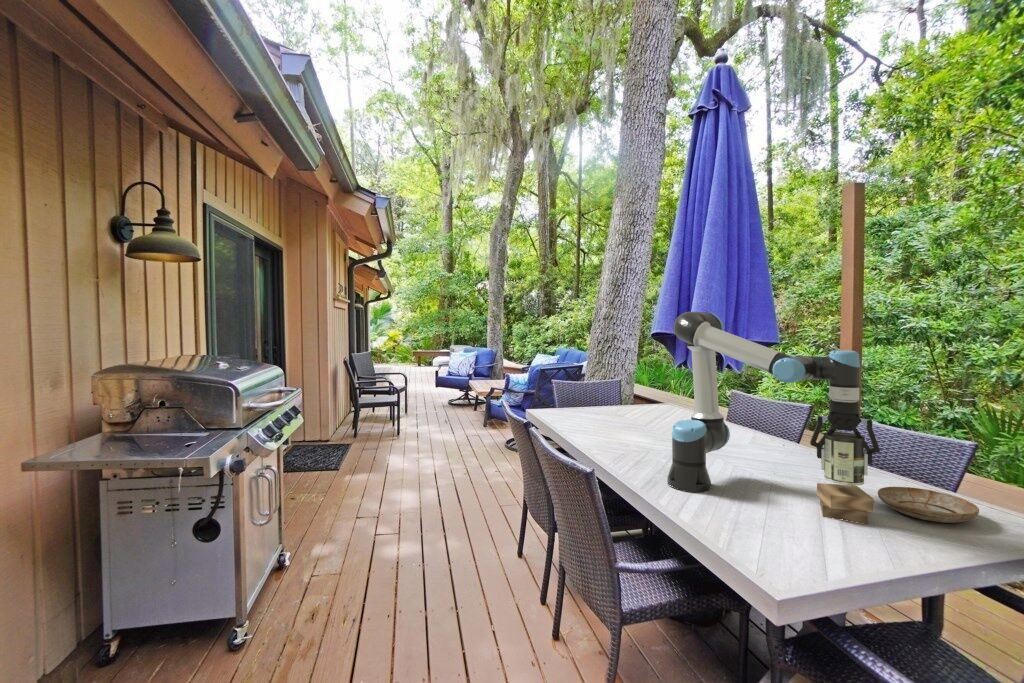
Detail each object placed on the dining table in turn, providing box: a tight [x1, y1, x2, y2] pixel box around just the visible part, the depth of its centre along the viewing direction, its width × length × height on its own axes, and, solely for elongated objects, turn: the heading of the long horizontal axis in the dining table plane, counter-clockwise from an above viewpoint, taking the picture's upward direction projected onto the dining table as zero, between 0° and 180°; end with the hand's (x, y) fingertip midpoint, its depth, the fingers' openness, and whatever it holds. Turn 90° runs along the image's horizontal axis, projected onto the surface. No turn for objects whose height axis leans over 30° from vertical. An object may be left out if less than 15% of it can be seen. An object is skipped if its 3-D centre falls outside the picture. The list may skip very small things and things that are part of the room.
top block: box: [816, 482, 875, 512], centre depth 140 cm, size 11×11×4 cm
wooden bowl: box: [877, 486, 980, 524], centre depth 140 cm, size 23×24×5 cm
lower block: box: [819, 498, 869, 525], centre depth 140 cm, size 11×11×4 cm
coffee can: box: [823, 431, 866, 486], centre depth 140 cm, size 10×10×14 cm
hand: (843, 471), depth 140 cm, fingers closed on coffee can, 10 cm apart
